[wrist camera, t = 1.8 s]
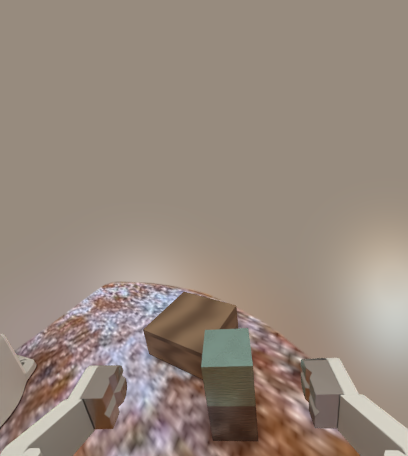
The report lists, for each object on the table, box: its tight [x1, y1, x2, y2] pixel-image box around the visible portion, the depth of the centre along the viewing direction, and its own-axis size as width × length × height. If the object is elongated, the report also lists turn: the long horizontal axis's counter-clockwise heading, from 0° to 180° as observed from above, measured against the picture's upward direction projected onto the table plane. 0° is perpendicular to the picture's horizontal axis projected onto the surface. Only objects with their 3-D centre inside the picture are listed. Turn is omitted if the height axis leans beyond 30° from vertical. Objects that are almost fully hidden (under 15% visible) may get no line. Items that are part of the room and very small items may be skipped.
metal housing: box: [201, 328, 258, 441], centre depth 28 cm, size 5×5×11 cm
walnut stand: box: [143, 292, 238, 379], centre depth 41 cm, size 11×11×5 cm
